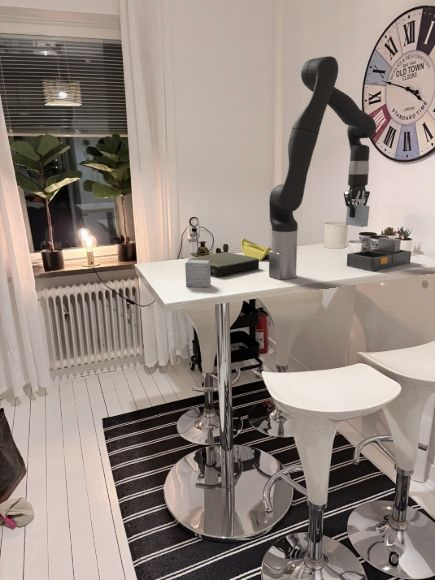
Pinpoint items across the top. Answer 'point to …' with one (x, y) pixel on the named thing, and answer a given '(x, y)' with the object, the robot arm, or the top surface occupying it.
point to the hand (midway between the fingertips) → (355, 217)
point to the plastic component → (254, 249)
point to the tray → (380, 256)
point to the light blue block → (358, 216)
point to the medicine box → (197, 273)
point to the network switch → (229, 263)
